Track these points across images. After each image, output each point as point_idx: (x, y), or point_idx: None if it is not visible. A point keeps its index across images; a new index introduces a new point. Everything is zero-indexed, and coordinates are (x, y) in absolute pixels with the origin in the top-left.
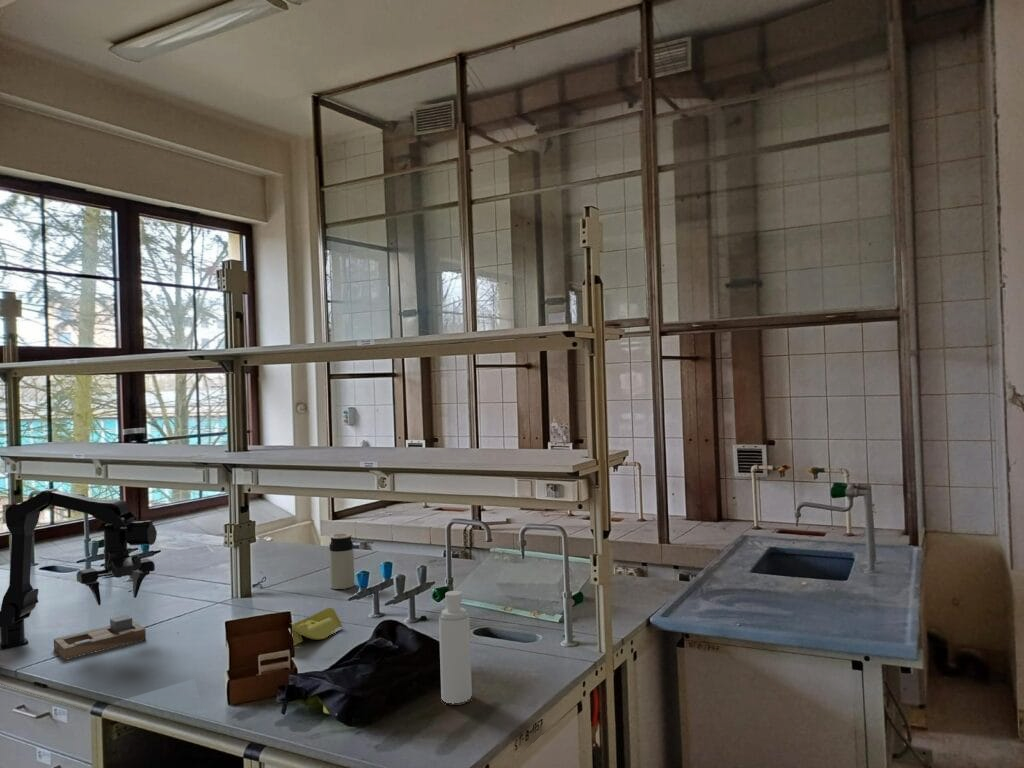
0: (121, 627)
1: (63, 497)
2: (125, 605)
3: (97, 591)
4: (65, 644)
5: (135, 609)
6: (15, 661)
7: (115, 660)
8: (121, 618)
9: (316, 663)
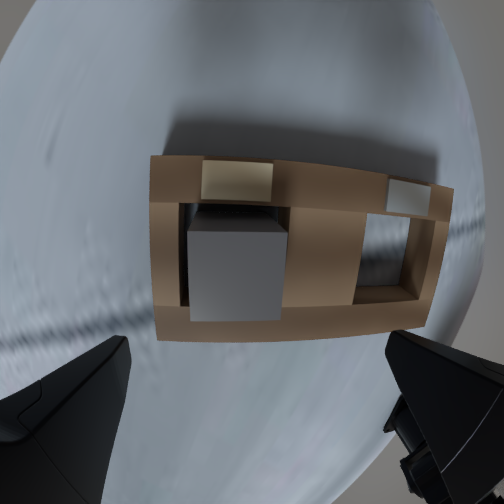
0: (247, 224)
1: None
2: (147, 488)
3: (490, 370)
4: (438, 232)
5: (129, 464)
6: (470, 286)
7: (331, 29)
8: (236, 274)
9: None
